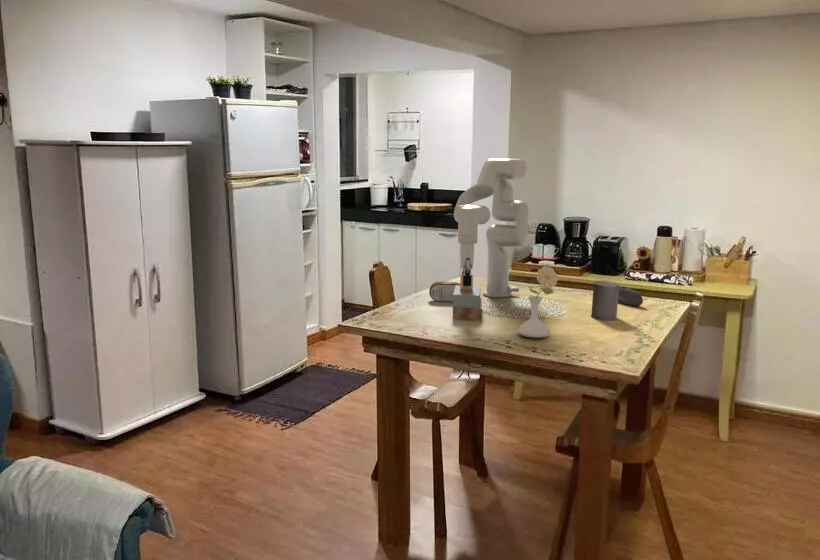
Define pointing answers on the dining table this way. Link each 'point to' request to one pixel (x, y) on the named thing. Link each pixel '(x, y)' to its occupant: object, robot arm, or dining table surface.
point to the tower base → (468, 313)
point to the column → (466, 288)
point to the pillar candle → (605, 300)
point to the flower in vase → (534, 325)
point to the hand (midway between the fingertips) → (466, 283)
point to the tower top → (466, 298)
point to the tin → (442, 291)
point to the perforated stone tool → (629, 296)
